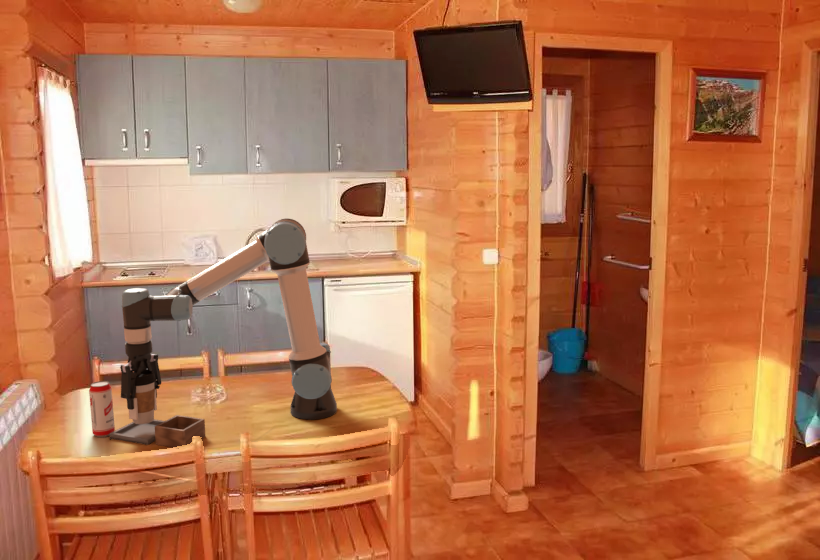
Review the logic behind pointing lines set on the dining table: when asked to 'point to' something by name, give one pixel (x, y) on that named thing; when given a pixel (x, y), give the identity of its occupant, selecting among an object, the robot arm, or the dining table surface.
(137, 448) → the dining table surface
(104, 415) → the beer can
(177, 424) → the walnut crate
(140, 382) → the coffee cup
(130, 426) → the slate tray
